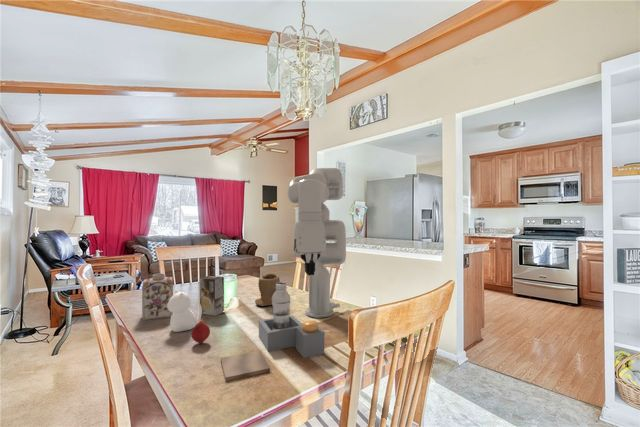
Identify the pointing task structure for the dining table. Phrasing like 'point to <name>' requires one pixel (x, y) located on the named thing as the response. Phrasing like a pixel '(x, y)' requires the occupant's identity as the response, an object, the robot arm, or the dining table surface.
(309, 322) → the orange egg-shaped ball
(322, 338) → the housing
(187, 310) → the cat figurine
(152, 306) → the decorative jar
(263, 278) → the stone cup
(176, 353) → the dining table surface
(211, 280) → the coffee box
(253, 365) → the pad
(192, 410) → the dining table surface
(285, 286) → the plastic bottle
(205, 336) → the onion
